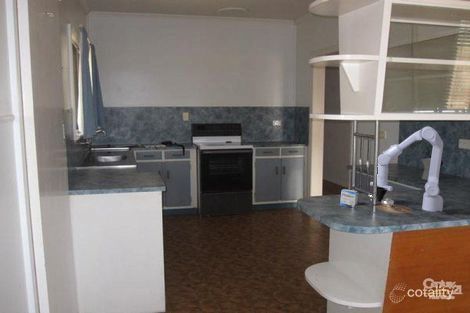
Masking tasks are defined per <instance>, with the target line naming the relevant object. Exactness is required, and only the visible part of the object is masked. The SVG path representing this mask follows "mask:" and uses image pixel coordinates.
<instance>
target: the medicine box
mask: <svg viewBox="0 0 470 313" xmlns="http://www.w3.org/2000/svg"><path fill="white" fill-rule="evenodd" d="M358 199H359V190H354V189H353V190H352V189H346V188H344V189H341V192H340V203H339V206H340V207H345V208H351V209H354V207H355V206H357V205H358Z"/></svg>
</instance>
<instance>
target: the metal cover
mask: <svg viewBox="0 0 470 313" xmlns="http://www.w3.org/2000/svg"><path fill="white" fill-rule="evenodd" d="M394 202H395V201H394V200H392V199H391V198H389V197H386V198H385V197H384V198H383V199H382V202H380V204H381V206H383V207H389V208H391V207H393V205H395V204H394Z"/></svg>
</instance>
